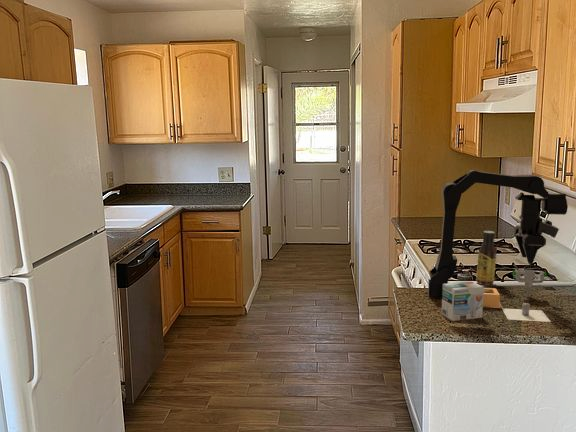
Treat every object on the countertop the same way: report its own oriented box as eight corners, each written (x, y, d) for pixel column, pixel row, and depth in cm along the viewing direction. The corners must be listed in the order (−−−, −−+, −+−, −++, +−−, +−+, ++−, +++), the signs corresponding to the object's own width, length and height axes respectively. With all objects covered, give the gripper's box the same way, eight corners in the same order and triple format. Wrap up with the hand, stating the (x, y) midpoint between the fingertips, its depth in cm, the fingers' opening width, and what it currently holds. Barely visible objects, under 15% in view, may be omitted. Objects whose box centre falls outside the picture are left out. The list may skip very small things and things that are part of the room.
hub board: (508, 322, 166) (508, 308, 165) (501, 311, 175) (502, 297, 175) (550, 324, 164) (551, 310, 163) (541, 313, 173) (542, 299, 172)
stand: (473, 309, 177) (474, 294, 176) (469, 300, 186) (470, 286, 185) (502, 310, 176) (503, 295, 175) (497, 301, 184) (498, 287, 184)
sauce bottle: (472, 281, 208) (475, 230, 204) (486, 280, 209) (489, 229, 206) (483, 286, 201) (486, 233, 198) (498, 285, 203) (501, 232, 200)
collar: (476, 305, 178) (477, 293, 177) (473, 298, 185) (473, 287, 184) (499, 306, 177) (499, 294, 176) (495, 299, 184) (495, 288, 183)
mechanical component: (544, 301, 184) (546, 272, 183) (512, 299, 187) (514, 271, 185) (542, 298, 187) (544, 270, 186) (510, 297, 189) (512, 269, 188)
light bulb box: (452, 324, 165) (454, 289, 163) (440, 316, 171) (441, 283, 169) (483, 320, 168) (485, 286, 166) (470, 313, 174) (471, 280, 172)
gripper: (565, 219, 168) (561, 269, 170) (549, 210, 186) (546, 255, 188) (526, 218, 170) (523, 267, 172) (514, 209, 188) (511, 253, 190)
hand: (527, 260), depth 181 cm, fingers open, 9 cm apart
